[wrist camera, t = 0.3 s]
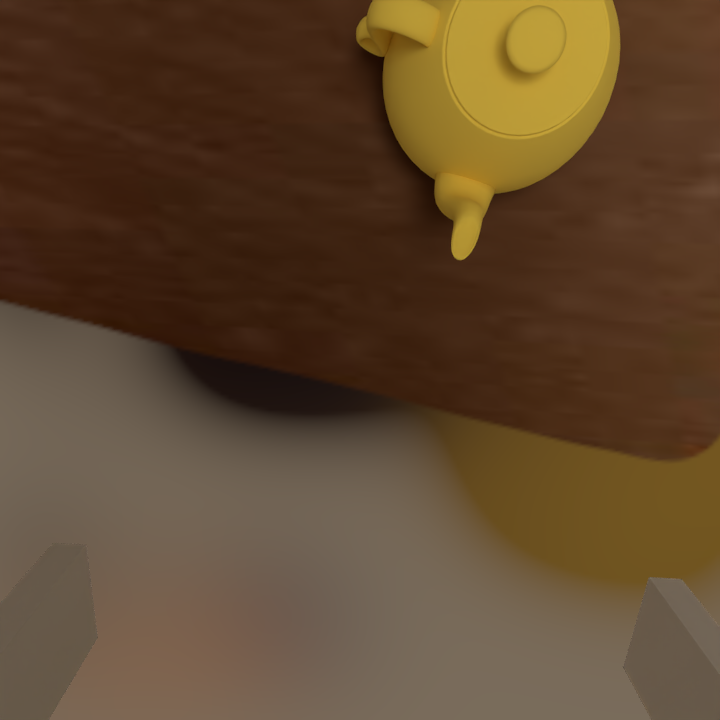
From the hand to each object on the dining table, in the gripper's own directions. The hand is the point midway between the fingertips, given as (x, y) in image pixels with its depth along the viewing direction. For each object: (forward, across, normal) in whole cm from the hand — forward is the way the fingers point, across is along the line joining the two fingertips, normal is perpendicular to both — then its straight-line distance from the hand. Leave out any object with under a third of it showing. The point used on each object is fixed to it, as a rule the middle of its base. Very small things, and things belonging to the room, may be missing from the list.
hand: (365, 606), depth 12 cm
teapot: (+28, +6, +16) cm, 33 cm away
